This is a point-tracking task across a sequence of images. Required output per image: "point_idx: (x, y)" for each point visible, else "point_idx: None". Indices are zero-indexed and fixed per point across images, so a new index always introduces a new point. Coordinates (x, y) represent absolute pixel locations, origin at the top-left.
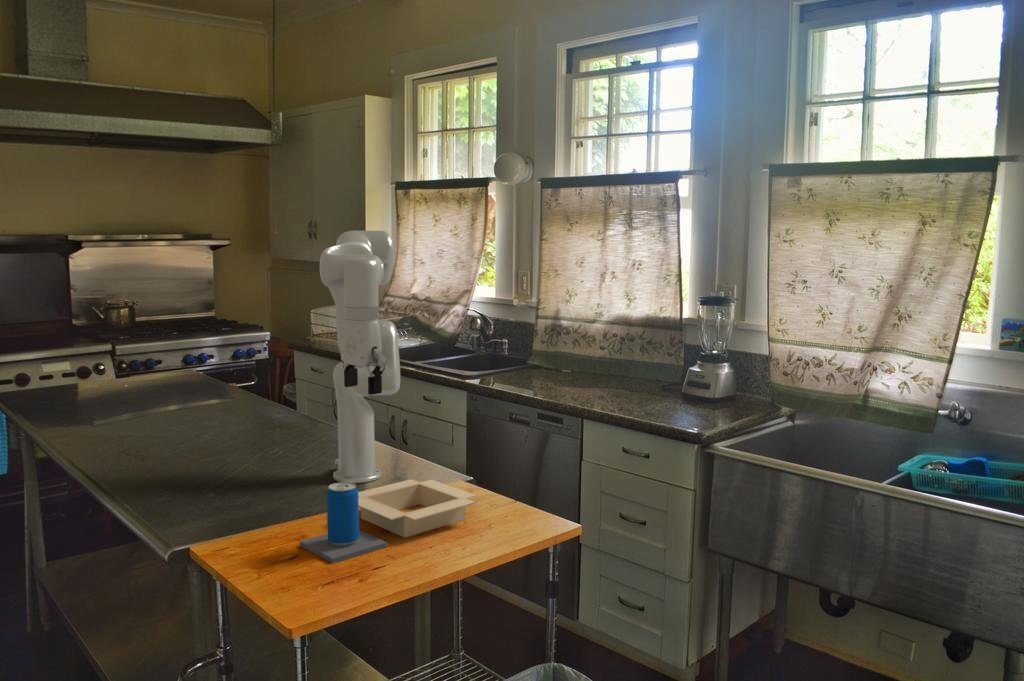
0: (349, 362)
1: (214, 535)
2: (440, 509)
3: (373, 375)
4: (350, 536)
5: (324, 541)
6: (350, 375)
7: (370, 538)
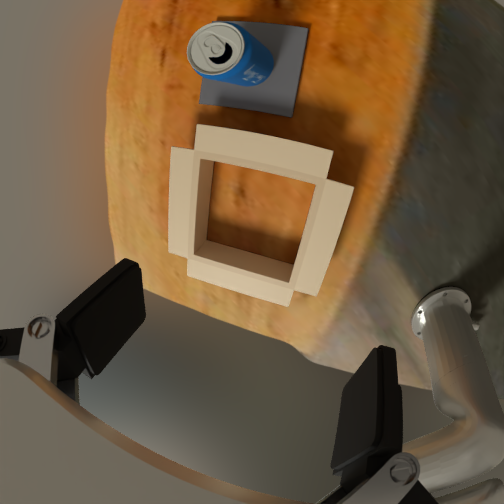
0: (196, 500)
1: (445, 14)
2: (176, 202)
3: (35, 321)
4: (221, 58)
5: (275, 48)
6: (359, 421)
7: (228, 98)
